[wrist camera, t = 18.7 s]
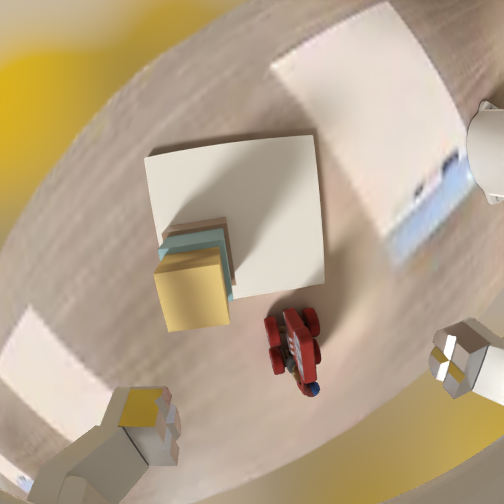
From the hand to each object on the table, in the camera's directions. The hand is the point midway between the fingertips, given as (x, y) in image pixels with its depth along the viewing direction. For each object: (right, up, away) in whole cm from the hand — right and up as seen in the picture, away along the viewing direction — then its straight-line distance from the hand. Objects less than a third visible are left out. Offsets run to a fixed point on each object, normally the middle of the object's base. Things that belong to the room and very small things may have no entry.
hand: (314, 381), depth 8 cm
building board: (-3, +7, +29) cm, 30 cm away
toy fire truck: (+4, -8, +34) cm, 35 cm away
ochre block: (-7, +1, +19) cm, 20 cm away
